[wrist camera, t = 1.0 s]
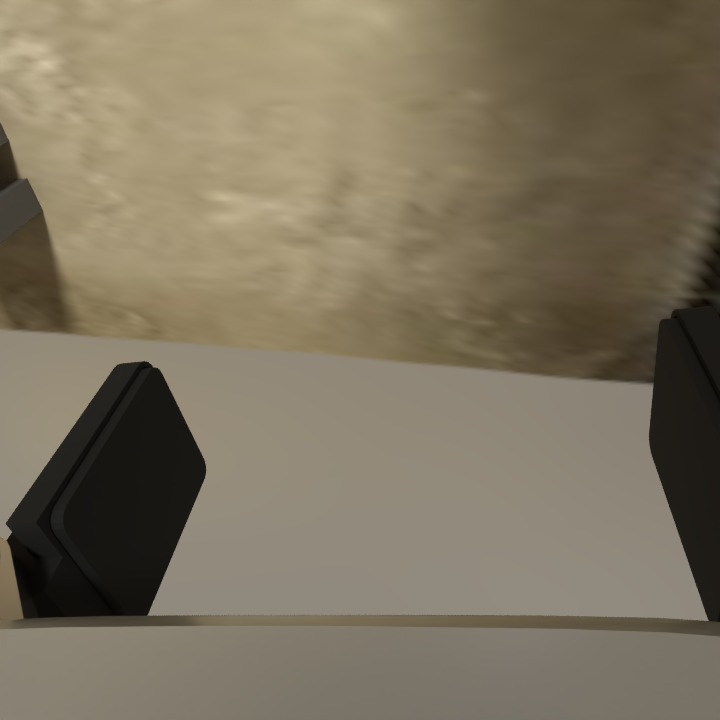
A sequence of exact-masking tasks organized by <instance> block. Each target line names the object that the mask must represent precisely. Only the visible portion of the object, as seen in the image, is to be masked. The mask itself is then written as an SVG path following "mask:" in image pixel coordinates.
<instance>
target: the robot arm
mask: <svg viewBox="0 0 720 720" xmlns="http://www.w3.org/2000/svg"><path fill="white" fill-rule="evenodd" d="M649 443H650V449H651V454H652V457H653V460H654V463H655V465H656V469H657V472H658V474H659V478H660V480H661V483H662V486H663V489H664V492H665V495H666V498H667V501H668V504H669V507H670V509H671V512H672V515H673V518H674V521H675V524H676V527H677V530H678V533H679V536H680V539H681V542H682V545H683V548H684V551H685V553H686V556H687V559H688V562H689V565H690V568H691V571H692V574H693V577H694V579H695V583H696V586H697V588H698V591H699V594H700V597H701V600H702V603H703V606H704V609H705V612H706V615H707V617H708V620H709V621H698V620H682V619H666V618H636V617H586V616H494V615H490V616H489V615H481V616H480V615H479V616H478V615H200V616H199V615H194V616H193V615H192V616H147V615H148V613H149V610H150V608H151V606H152V603H153V600H154V598H155V596H156V594H157V591H158V589H159V587H160V584H161V582H162V579H163V577H164V574H165V572H166V570H167V567H168V565H169V563H170V560H171V558H172V555H173V553H174V550H175V548H176V546H177V543H178V541H179V539H180V536H181V534H182V531H183V529H184V527H185V524H186V522H187V519H188V517H189V514H190V512H191V510H192V507H193V505H194V503H195V500H196V498H197V496H198V493H199V491H200V488H201V486H202V484H203V481H204V479H205V475H206V465H205V461H204V458H203V456H202V454H201V452H200V450H199V448H198V446H197V444H196V442H195V440H194V438H193V436H192V434H191V432H190V430H189V428H188V426H187V424H186V421H185V419H184V417H183V416H182V413H181V411H180V409H179V407H178V405H177V403H176V401H175V399H174V397H173V395H172V393H171V391H170V389H169V387H168V385H167V383H166V381H165V379H164V377H163V374H162V373H161V371H160V370H159V369H158V368H153V367H152V365H151V364H150V363H149V362H145V361H143V362H133V363H123V364H119V365H117V366H116V367H115V368H114V369H113V371H112V372H111V373H110V375H109V376H108V378H107V379H106V381H105V382H104V383H103V385H102V386H101V388H100V389H99V391H98V392H97V393H96V395H95V396H94V398H93V399H92V401H91V402H90V403H89V405H88V406H87V408H86V409H85V411H84V412H83V413H82V415H81V416H80V418H79V419H78V421H77V422H76V424H75V425H74V426H73V428H72V429H71V431H70V432H69V434H68V435H67V436H66V438H65V439H64V441H63V442H62V444H61V445H60V446H59V448H58V449H57V451H56V452H55V454H54V455H53V456H52V458H51V459H50V461H49V462H48V464H47V465H46V466H45V468H44V469H43V471H42V472H41V474H40V475H39V477H38V478H37V480H36V481H35V482H34V484H33V485H32V487H31V488H30V489H29V491H28V492H27V494H26V495H25V497H24V498H23V500H22V501H21V502H20V504H19V505H18V507H17V508H16V509H15V511H14V512H13V514H12V515H11V517H10V518H9V519H8V521H7V522H6V525H7V526H8V527H9V528H10V530H11V531H12V533H11V535H10V536H9V538H8V539H7V541H6V540H5V539H3V538H1V537H0V720H720V317H719V316H718V314H717V312H716V311H715V309H714V308H713V307H711V306H706V307H696V308H686V309H675V310H674V311H673V312H672V315H671V319H662V320H661V321H660V324H659V333H658V344H657V354H656V365H655V376H654V387H653V398H652V408H651V419H650V430H649Z"/></svg>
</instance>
